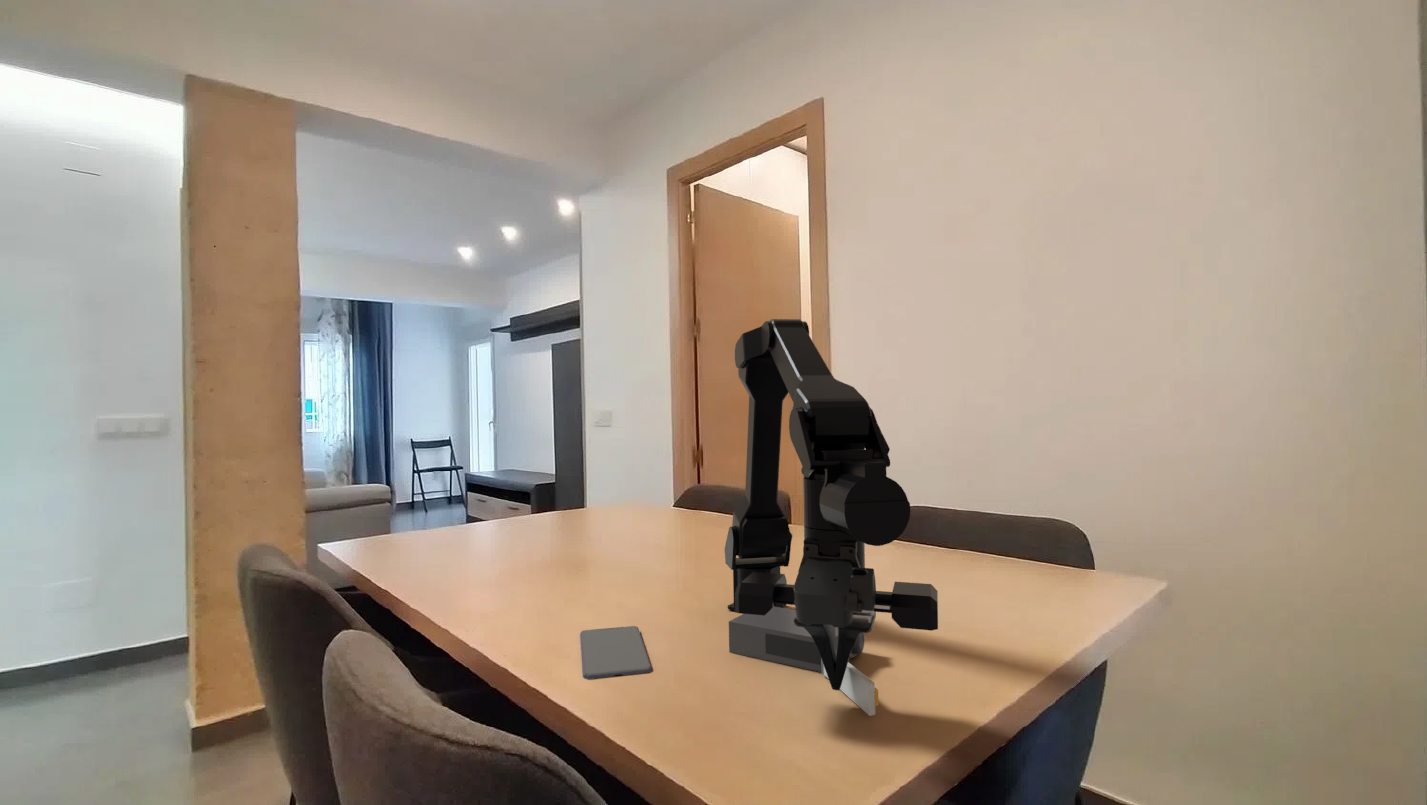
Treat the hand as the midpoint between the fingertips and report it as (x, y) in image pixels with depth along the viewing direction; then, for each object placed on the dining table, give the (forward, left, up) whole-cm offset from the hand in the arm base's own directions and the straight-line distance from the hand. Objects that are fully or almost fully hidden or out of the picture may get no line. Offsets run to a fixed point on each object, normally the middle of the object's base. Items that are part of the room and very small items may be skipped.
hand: (836, 688), depth 62 cm
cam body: (-10, +10, -2) cm, 14 cm away
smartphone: (-28, -1, -2) cm, 28 cm away
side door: (0, +3, -1) cm, 3 cm away
